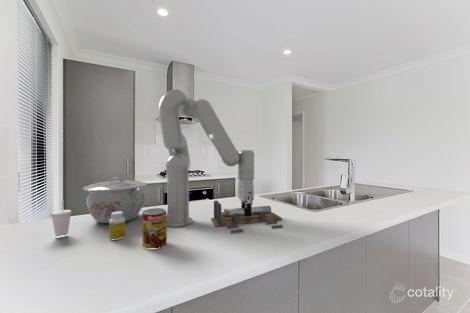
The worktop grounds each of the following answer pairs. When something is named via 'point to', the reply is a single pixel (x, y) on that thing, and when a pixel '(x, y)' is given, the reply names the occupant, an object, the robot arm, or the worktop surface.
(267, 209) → the tube
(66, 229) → the smoothie
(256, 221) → the brown board
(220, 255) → the worktop surface
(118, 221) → the supplement bottle
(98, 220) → the chamber pot
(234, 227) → the set of grey slats
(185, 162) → the robot arm
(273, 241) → the worktop surface
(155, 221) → the canned food
